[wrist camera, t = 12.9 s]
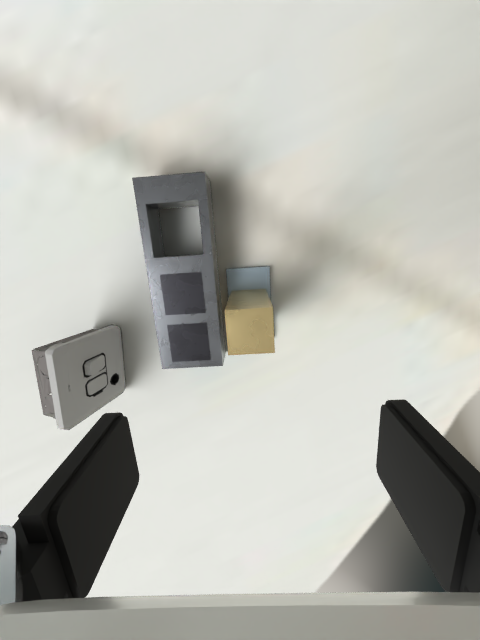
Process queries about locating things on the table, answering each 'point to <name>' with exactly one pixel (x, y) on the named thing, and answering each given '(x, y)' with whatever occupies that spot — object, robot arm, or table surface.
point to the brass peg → (249, 322)
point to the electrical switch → (80, 374)
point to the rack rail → (182, 273)
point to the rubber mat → (248, 279)
